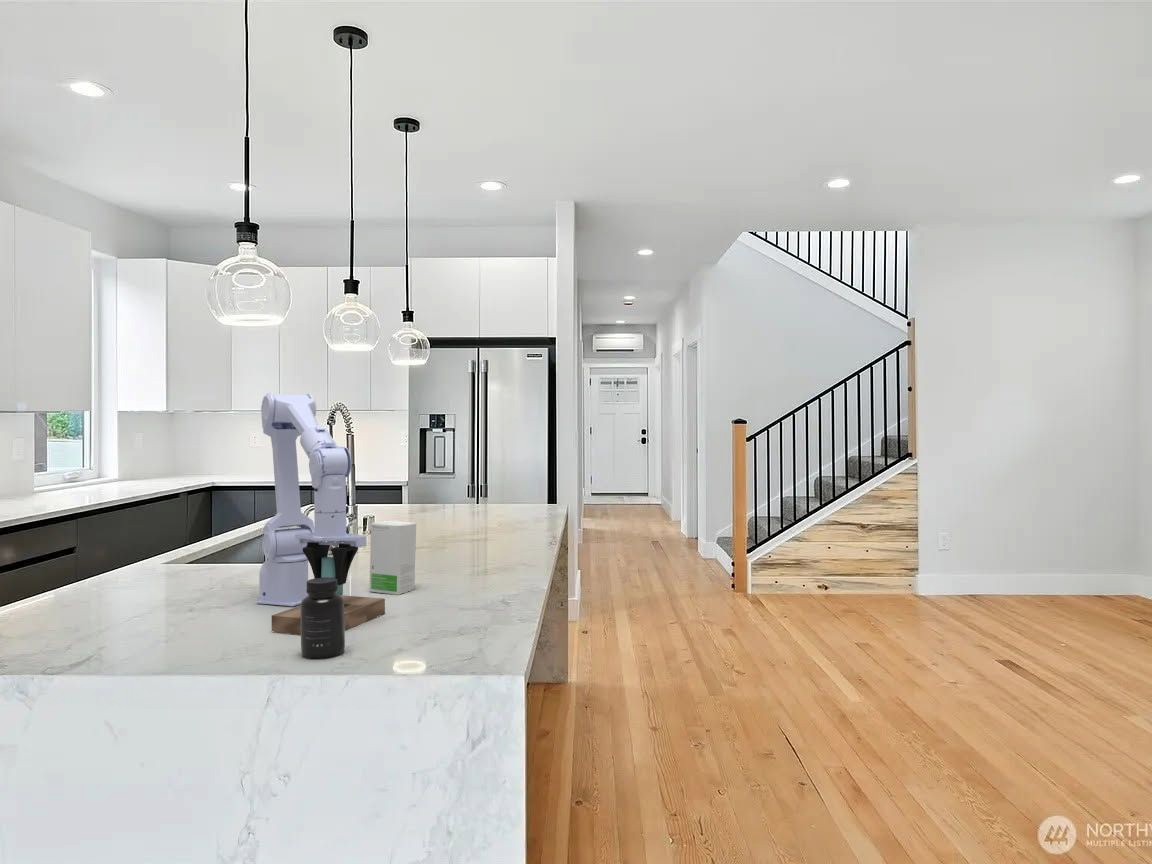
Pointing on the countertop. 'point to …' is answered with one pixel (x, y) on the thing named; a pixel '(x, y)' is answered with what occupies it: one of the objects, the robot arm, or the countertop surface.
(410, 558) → the skincare box
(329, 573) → the peg
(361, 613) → the socket board
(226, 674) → the countertop surface
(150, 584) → the countertop surface
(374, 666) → the countertop surface
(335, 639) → the supplement bottle
